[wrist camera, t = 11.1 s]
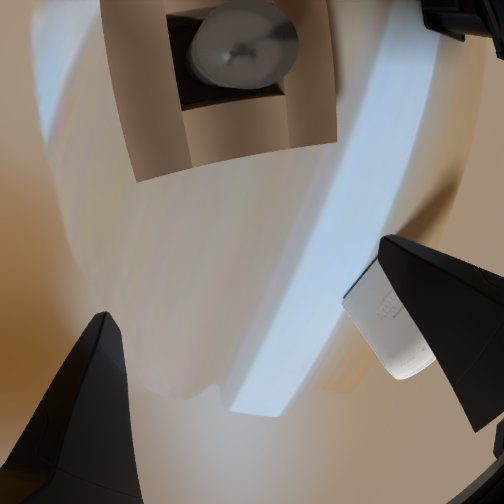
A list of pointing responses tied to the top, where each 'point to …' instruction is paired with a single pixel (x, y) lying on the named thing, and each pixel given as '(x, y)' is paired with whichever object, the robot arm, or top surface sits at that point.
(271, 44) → the grey metal cylinder
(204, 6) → the socket block
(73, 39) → the top surface
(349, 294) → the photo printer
